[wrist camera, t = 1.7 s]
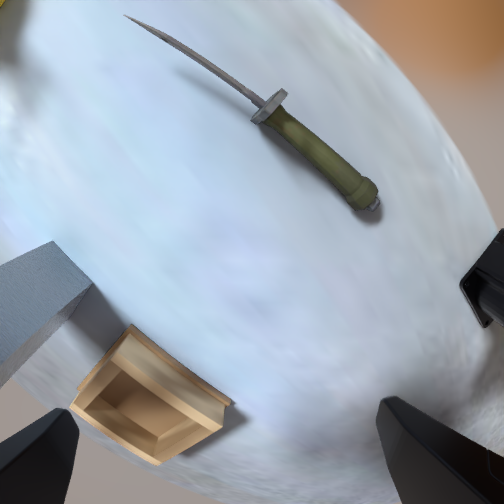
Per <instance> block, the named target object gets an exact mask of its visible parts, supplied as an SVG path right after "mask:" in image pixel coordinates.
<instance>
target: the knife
mask: <svg viewBox="0 0 504 504" xmlns="http://www.w3.org/2000/svg"><path fill="white" fill-rule="evenodd" d="M124 16H126V15H124ZM126 17H127V18H129V19H131V20H132V21H134V22H135V23H137V24H138V25H140V26H142V27H143V28H145V29H146V30H148V31H149V32H151V33H152V34H154V35H155V36H157V37H159V38H160V39H162V40H163V41H165V42H167V43H168V44H170V45H171V46H173V47H175V48H176V49H178V50H179V51H181V52H183V53H184V54H186V55H187V56H189V57H190V58H192V59H193V60H195V61H196V62H198V63H199V64H201V65H202V66H204V67H205V68H207V69H208V70H210V71H211V72H212V73H214V74H215V75H217V76H218V77H220V78H221V79H222V80H224V81H225V82H227V83H228V84H229V85H231V86H232V87H233V88H235V89H236V90H237V91H239V92H240V93H242V94H243V95H244V96H246V97H247V98H248V99H250V100H251V102H252V103H253V104H254V105H256V106H257V107H258V108H259V110H258V111H257V112H256V113H255V115H254V116H253V117H252V119H251V120H250V121H251V122H253V123H254V124H255V125H256V124H258V123H260V122H261V121H262V122H263V123H264V124H266V125H268V126H270V127H272V128H274V129H275V130H276V131H277V132H278V133H279V134H280V135H281V136H283V137H284V138H285V139H286V140H287V141H288V142H289V143H290V144H291V145H293V146H294V147H295V148H296V149H297V150H298V151H299V152H300V153H301V154H302V155H303V156H304V157H305V158H307V159H308V160H309V161H310V162H311V163H312V164H313V165H314V166H315V167H316V168H317V169H318V170H319V171H320V172H321V173H322V174H323V175H324V176H325V177H326V178H327V179H328V180H329V181H330V182H331V183H332V184H333V185H334V186H335V187H336V188H337V189H338V190H339V191H340V192H341V193H342V194H343V195H345V196H346V199H347V203H348V204H349V205H350V206H351V207H352V208H353V209H354V210H363V209H365V208H366V209H367V210H369V211H374V210H375V209H376V208H377V206H378V205H379V204H380V201H379V199H378V198H377V197H376V195H377V193H378V189H377V187H376V185H375V184H374V183H373V182H372V181H371V180H370V179H369V178H368V177H364V176H361V174H360V173H359V172H358V171H357V170H355V169H354V168H353V167H352V166H351V165H350V164H349V163H348V162H347V161H345V160H344V159H343V158H342V157H341V156H340V155H339V154H338V153H336V152H335V151H334V150H333V149H332V148H331V147H329V146H328V145H327V144H326V143H325V142H323V141H322V140H321V139H320V138H319V137H318V136H316V135H315V134H314V133H313V132H311V131H310V130H309V129H308V128H306V127H305V126H304V125H303V124H301V123H300V122H299V121H298V120H296V119H295V118H294V117H293V116H291V115H290V114H289V113H287V112H286V111H285V109H284V108H283V107H282V105H281V102H282V101H283V100H284V99H285V98H286V96H287V94H288V93H287V92H286V91H285V90H284V89H282V88H281V89H280V90H279V91H277V92H276V93H275V94H274V95H272V96H271V97H270V98H269V99H268V100H267V101H266V102H265V101H264V100H263V99H262V98H260V97H259V96H258V95H256V94H255V93H254V92H252V91H251V90H249V89H248V88H246V87H245V86H243V85H242V84H241V83H239V82H238V81H237V80H235V79H234V78H232V77H231V76H230V75H228V74H227V73H225V72H224V71H223V70H221V69H220V68H218V67H217V66H215V65H214V64H213V63H211V62H210V61H208V60H207V59H205V58H204V57H202V56H201V55H199V54H198V53H196V52H195V51H193V50H192V49H190V48H188V47H187V46H185V45H184V44H182V43H180V42H179V41H177V40H176V39H174V38H172V37H171V36H169V35H167V34H165V33H163V32H161V31H159V30H157V29H155V28H153V27H151V26H149V25H146V24H144V23H142V22H140V21H138V20H135V19H133V18H131V17H128V16H126Z"/></svg>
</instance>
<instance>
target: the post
mask: <svg viewBox="0 0 504 504" xmlns="http://www.w3.org/2000/svg"><path fill="white" fill-rule="evenodd" d="M92 283H93V282H92V281H91V280H90V279H89V278H88V277H87V276H86V275H85V274H84V273H83V272H82V271H81V270H80V269H79V268H78V267H77V266H76V265H75V264H74V263H73V262H72V261H71V260H70V259H69V258H68V257H67V256H66V255H65V253H64V252H63V251H62V250H61V249H60V248H59V247H58V246H57V245H56V244H55V243H54V242H53V241H51V242H49V243H46V244H44V245H42V246H40V247H38V248H36V249H33V250H31V251H29V252H27V253H25V254H23V255H21V256H19V257H17V258H15V259H13V260H11V261H9V262H7V263H5V264H3V265H1V266H0V389H1V388H2V386H3V385H4V384H5V383H6V382H7V381H8V380H9V379H10V378H11V377H12V376H13V374H14V373H15V372H16V371H17V370H18V369H19V368H20V367H21V366H22V365H23V364H24V363H25V362H26V361H27V360H28V359H29V358H30V357H31V356H32V355H33V354H34V353H35V351H36V350H37V349H38V348H39V347H40V346H41V345H42V344H43V343H44V342H45V341H46V340H47V339H48V338H49V337H50V336H51V335H52V334H53V333H54V332H56V331H57V330H58V329H59V328H60V327H61V326H62V325H63V324H64V323H65V322H66V321H67V320H68V319H69V317H70V316H71V314H72V313H73V311H74V310H75V308H76V307H77V305H78V304H79V302H80V301H81V299H82V298H83V296H84V295H85V293H86V292H87V290H88V289H89V288H90V286H91V285H92Z"/></svg>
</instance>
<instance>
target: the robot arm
mask: <svg viewBox="0 0 504 504" xmlns="http://www.w3.org/2000/svg"><path fill="white" fill-rule="evenodd" d="M466 282H467V283H466ZM465 283H466V285H465ZM460 287H461V289H462V291H463V292H464V294H465V296H466V298H467V299H468V301H469V303H470V305H471V307H472V309H473V310H474V312H475V314H476V316H477V318H478V320H479V322H480V324H481V325H482V326H483V327H484V328H486V327H488V326H489V325H490V324H491V322H492V321H493V320H495V321H496V322H497V323H499V324H500V325H501V326H503V327H504V228H502V229H501V230H500V231H499V233H498V234H497V235H496V237H495V238H494V240H493V241H492V242H491V244H490V245H489V246H488V247H487V249H486V250H485V251H484V253H483V254H482V255H481V256H480V258H479V259H478V260H477V261H476V263H475V264H474V265H473V266H472V268H471V269H470V270H469V271H468V272H467V273H466V275H465V276H464V277H463V278H462V280H461V282H460ZM376 426H377V429H378V433H379V437H380V440H381V444H382V448H383V451H384V455H385V459H386V463H387V466H388V469H389V472H390V474H391V477H392V479H393V482H394V484H395V487H396V489H397V492H398V494H399V497H400V499H401V502H402V504H504V457H502V456H500V455H498V454H496V453H494V452H492V451H490V450H487V449H486V448H485V447H483V446H481V445H479V444H477V443H476V442H474V441H472V440H470V439H468V438H467V437H465V436H463V435H461V434H460V433H458V432H456V431H454V430H453V429H451V428H449V427H447V426H446V425H444V424H442V423H440V422H439V421H437V420H435V419H434V418H432V417H430V416H429V415H427V414H425V413H424V412H422V411H420V410H418V409H417V408H415V407H413V406H412V405H410V404H409V403H407V402H405V401H404V400H402V399H400V398H399V397H397V396H390V397H386V398H383V399H382V400H381V401H380V404H379V408H378V412H377V416H376ZM78 439H79V428H78V426H77V424H76V422H75V420H74V419H73V417H72V415H71V413H70V412H69V411H68V410H67V409H61V408H55V409H54V410H52V411H51V412H49V413H48V414H46V415H44V416H43V417H41V418H40V419H38V420H36V421H35V422H33V423H32V424H30V425H29V426H27V427H25V428H24V429H22V430H21V431H19V432H17V433H16V434H14V435H13V436H11V437H9V438H8V439H6V440H4V441H3V442H1V443H0V504H64V501H65V497H66V494H67V490H68V486H69V483H70V479H71V475H72V470H73V466H74V460H75V454H76V449H77V444H78Z"/></svg>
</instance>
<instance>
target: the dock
mask: <svg viewBox="0 0 504 504" xmlns="http://www.w3.org/2000/svg"><path fill="white" fill-rule="evenodd" d="M77 390H79V391H80V392H79V393H78V395H77V396H76V398H75V399H74V401H73V402H72V404H71V405H70V407H69V408H70V409H72V410H73V411H74V412H76V413H77V414H78V415H79V416H81V417H82V418H83V419H85V420H86V421H87V422H89V423H90V424H91V425H93V426H94V427H95V428H97V429H98V430H100V431H101V432H102V433H104V434H105V435H107V436H108V437H110V438H111V439H113V440H114V441H116V442H117V443H119V444H120V445H122V446H123V447H125V448H126V449H128V450H130V451H131V452H133V453H135V454H136V455H138V456H139V457H141V458H143V459H145V460H146V461H148V462H150V463H152V464H153V465H155V466H157V465H159V464H161V463H163V462H165V461H167V460H168V459H170V458H172V457H174V456H176V455H177V454H179V453H181V452H183V451H184V450H186V449H188V448H189V447H191V446H193V445H194V444H196V443H198V442H199V441H201V440H203V439H204V438H206V437H208V436H209V435H211V434H212V433H214V432H216V431H217V430H219V429H220V428H222V427H223V420H224V409H225V408H226V407H227V406H229V405H230V404H231V399H230V398H228V397H227V396H225V395H224V394H222V393H221V392H219V391H218V390H217V389H215V388H214V387H212V386H211V385H209V384H208V383H207V382H205V381H204V380H202V379H201V378H200V377H198V376H197V375H195V374H194V373H193V372H191V371H190V370H189V369H187V368H186V367H185V366H183V365H182V364H181V363H179V362H178V361H177V360H175V359H174V358H173V357H172V356H170V355H169V354H168V353H166V352H165V351H164V350H163V349H161V348H160V347H159V346H158V345H156V344H155V343H154V342H153V341H151V340H150V339H149V338H148V337H147V336H145V335H144V334H143V333H142V332H141V331H139V330H138V329H137V328H136V327H135V326H134V325H132V324H131V325H130V326H129V327H128V328H127V329H126V331H125V332H124V333H123V334H122V335H121V336H120V338H119V339H118V340H117V341H116V342H115V343H114V345H113V346H112V347H111V348H110V349H109V350H108V352H107V353H106V354H105V355H104V356H103V357H102V359H101V360H100V361H99V362H98V363H97V365H96V366H95V367H94V368H93V369H92V371H91V372H90V373H89V374H88V375H87V377H86V378H85V379H84V380H83V381H82V383H81V384H80V385H79V387H78V388H77Z"/></svg>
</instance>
